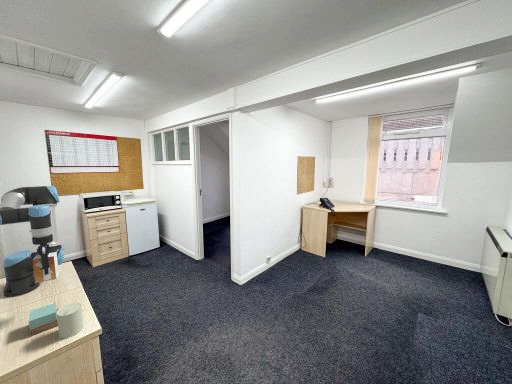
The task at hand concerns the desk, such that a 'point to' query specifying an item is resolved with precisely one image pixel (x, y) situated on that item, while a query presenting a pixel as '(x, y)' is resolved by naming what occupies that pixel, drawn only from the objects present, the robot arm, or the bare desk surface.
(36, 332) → the bottom slab
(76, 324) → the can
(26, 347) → the desk surface
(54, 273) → the small box
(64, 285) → the desk surface
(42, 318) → the top slab
